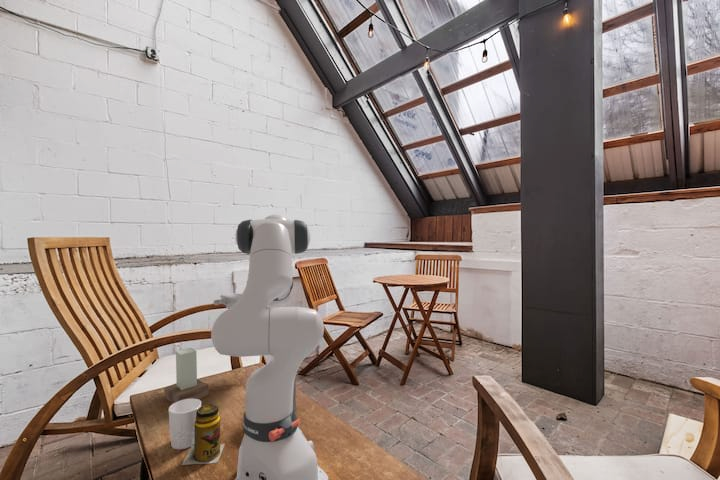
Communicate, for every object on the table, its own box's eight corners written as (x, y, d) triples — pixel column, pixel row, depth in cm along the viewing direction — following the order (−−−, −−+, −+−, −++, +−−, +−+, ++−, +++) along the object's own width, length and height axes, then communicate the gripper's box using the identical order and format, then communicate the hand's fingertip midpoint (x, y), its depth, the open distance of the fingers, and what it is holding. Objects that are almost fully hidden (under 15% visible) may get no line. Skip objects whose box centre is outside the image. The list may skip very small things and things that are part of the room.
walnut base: (208, 396, 119) (208, 384, 119) (179, 408, 111) (179, 395, 111) (193, 388, 125) (193, 377, 125) (164, 399, 117) (164, 387, 117)
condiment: (217, 463, 84) (217, 415, 84) (181, 465, 83) (180, 417, 83) (225, 444, 92) (225, 400, 91) (191, 447, 90) (191, 402, 90)
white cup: (163, 444, 91) (162, 407, 91) (191, 430, 98) (191, 395, 98) (178, 455, 87) (178, 416, 87) (207, 439, 93) (207, 403, 93)
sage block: (197, 385, 118) (196, 350, 118) (181, 390, 114) (180, 354, 114) (191, 381, 121) (191, 347, 121) (176, 385, 118) (175, 351, 118)
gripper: (240, 288, 143) (207, 292, 133) (268, 294, 130) (234, 299, 120) (240, 303, 144) (207, 308, 133) (268, 310, 130) (234, 317, 120)
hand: (220, 304), depth 126 cm, fingers open, 8 cm apart
